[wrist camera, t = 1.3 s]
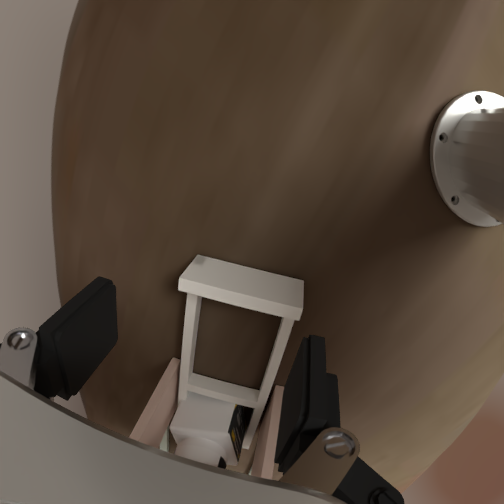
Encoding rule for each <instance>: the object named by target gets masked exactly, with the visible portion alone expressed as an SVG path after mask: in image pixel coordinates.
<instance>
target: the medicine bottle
mask: <svg viewBox="0 0 504 504" xmlns="http://www.w3.org/2000/svg"><path fill="white" fill-rule="evenodd" d="M246 427H247V424H246V419H245V415H244V410H243V406H242V405H238V404H234V403H230V402H226V401H223V400H219V399H215V398H212V397H208V396H205V395H201V394H198V393H194V392H191V391H190V392H189V395H188V397H187V399H186V401H185V400H181V402H180V404H179V406H178V408H177V410H176V413H175V415H174V417H173V419H172V422H171V424H170V426H169V429H170V431H171V433H172V435H173V437H174V439H175V441H176V443H177V447H176V450H175V452H174V454H175V455H178V456H181V457H184V458H187V459H191V460H194V461H197V462H201V463H204V464H208V465H211V466H215V467H219V468H223V469H225V468H226V465H237V464H238V461H239V457H240V453H241V448H242V444H243V440H244V435H245V431H246Z"/></svg>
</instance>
